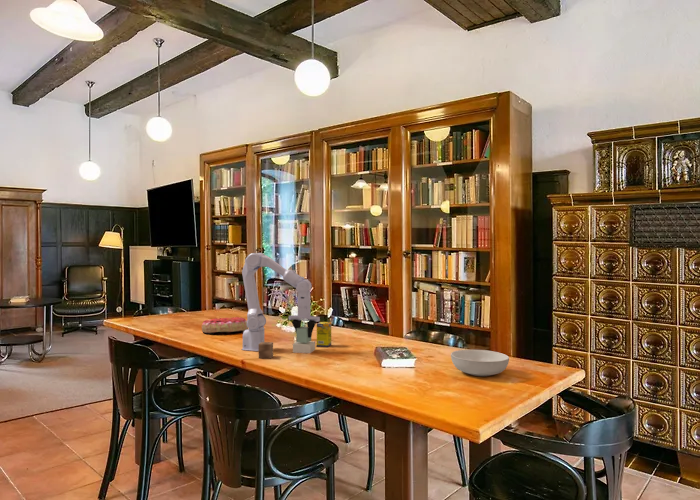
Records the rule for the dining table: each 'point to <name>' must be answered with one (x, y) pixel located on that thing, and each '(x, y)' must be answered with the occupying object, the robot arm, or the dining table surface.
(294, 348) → the grey block
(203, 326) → the cake
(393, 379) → the dining table surface
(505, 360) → the serving bowl
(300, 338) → the green block
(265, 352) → the walnut block
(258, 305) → the robot arm
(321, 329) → the supplement box
